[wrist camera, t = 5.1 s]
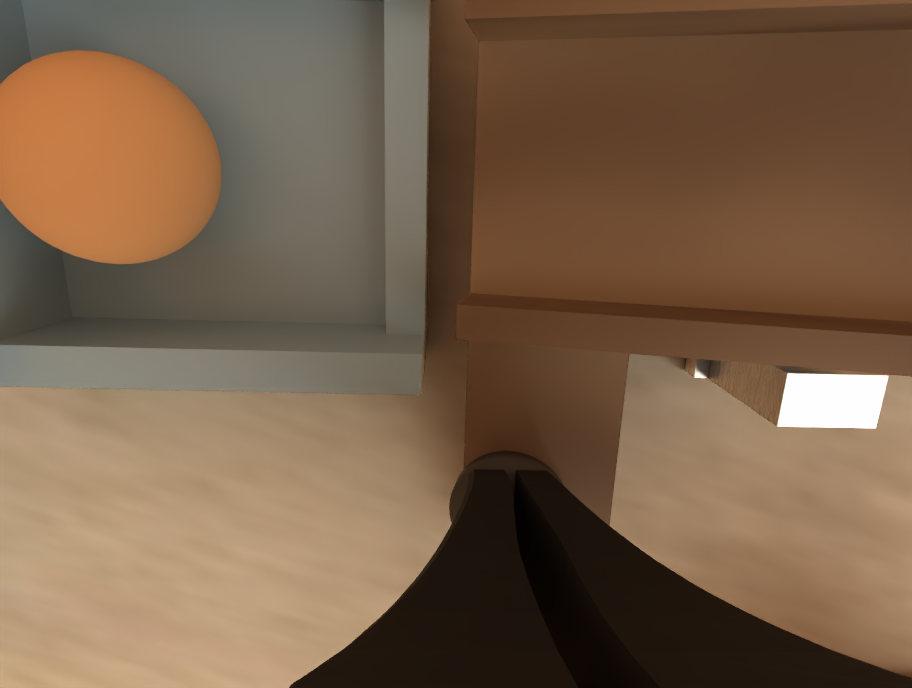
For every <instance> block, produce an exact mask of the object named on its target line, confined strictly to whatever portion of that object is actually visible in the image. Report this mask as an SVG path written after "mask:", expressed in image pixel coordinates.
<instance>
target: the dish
mask: <svg viewBox="0 0 912 688" xmlns="http://www.w3.org/2000/svg"><path fill="white" fill-rule="evenodd" d="M430 24H431V0H0V85H1V83H2V82H3V81H4V80H5V79H6V78H7V77H8V76H9V75H10V74H12V73H13V72H15V71H16V70H17V69H19V68H20V67H21V66H23V65H24V64H26V63H28V62H30V61H32V60H35V59H37V58H40V57H42V56H46V55H49V54H53V53H58V52H65V51H74V50H82V51H99V52H104V53H109V54H113V55H117V56H122V57H125V58H127V59H130V60H133V61H135V62H138V63H140V64H142V65H145V66H147V67H148V68H150V69H152V70H154V71H155V72H157V73H159V74H160V75H162V76H163V77H165V78H166V79H168V80H169V81H170V82H172V83H173V84H174V85H175V86H176V87H178V88H179V89H180V90H181V91H182V92H183V93H184V94H185V95H186V96H187V97H188V98H189V99H190V100H191V101H192V102H193V104H194V105H195V106H196V107H197V109H198V110H199V111H200V113H201V115H202V116H203V118H204V119H205V121H206V122H207V124H208V126H209V128H210V130H211V132H212V134H213V136H214V139H215V142H216V144H217V148H218V152H219V156H220V162H221V176H222V180H221V190H220V195H219V199H218V202H217V205H216V208H215V210H214V212H213V214H212V216H211V218H210V220H209V221H208V223H207V224H206V226H205V227H204V228H203V230H202V231H201V232H200V233H199V234H198V235H197V236H196V237H195V238H194V239H193V240H192V241H190V242H189V243H188V244H186V245H185V246H184V247H182V248H181V249H179V250H177V251H175V252H173V253H171V254H169V255H167V256H164V257H162V258H159V259H156V260H152V261H147V262H142V263H134V264H111V263H102V262H95V261H91V260H88V259H84V258H81V257H77V256H74V255H71V254H69V253H66V252H64V251H62V250H60V249H58V248H55V247H53V246H52V245H50V244H48V243H47V242H45V241H43V240H42V239H40V238H39V237H38V236H36V235H35V234H33V233H32V232H31V231H29V230H28V229H27V228H26V227H25V226H24V225H22V224H21V223H20V222H19V221H18V220H17V219H16V218H15V217H14V215H13V214H12V213H11V212H10V211H9V210H8V209H7V207H6V206H5V205H4V203H3V202H2V201H1V199H0V387H41V388H91V389H141V390H191V391H241V392H291V393H341V394H391V395H421V391H422V383H423V375H424V367H425V359H426V303H427V233H428V163H429V94H430Z"/></svg>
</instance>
